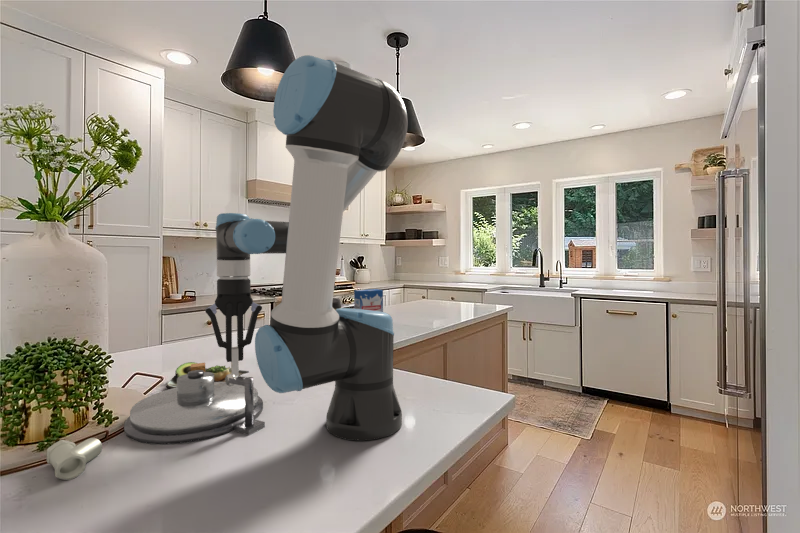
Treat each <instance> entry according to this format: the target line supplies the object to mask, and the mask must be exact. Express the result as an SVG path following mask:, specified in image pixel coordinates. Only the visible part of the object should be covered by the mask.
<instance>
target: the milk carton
mask: <svg viewBox="0 0 800 533" xmlns="http://www.w3.org/2000/svg"><path fill="white" fill-rule="evenodd" d="M353 292H354V295H353V297H354V299H353V302H354V304H353V309H363V310H372V311H380V312H384V290H383V289H378V288H373V289H372V288H369V289H354V290H353Z"/></svg>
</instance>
